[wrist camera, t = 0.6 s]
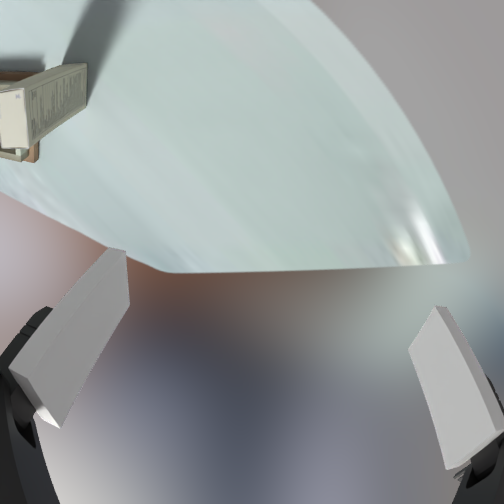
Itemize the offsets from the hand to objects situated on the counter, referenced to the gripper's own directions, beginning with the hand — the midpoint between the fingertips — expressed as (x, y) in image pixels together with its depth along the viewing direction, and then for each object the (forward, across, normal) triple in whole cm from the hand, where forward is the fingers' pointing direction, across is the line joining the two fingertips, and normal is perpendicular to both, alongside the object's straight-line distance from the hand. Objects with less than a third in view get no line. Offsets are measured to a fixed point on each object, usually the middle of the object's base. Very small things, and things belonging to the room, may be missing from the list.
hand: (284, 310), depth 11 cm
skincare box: (+22, -26, +8) cm, 35 cm away
